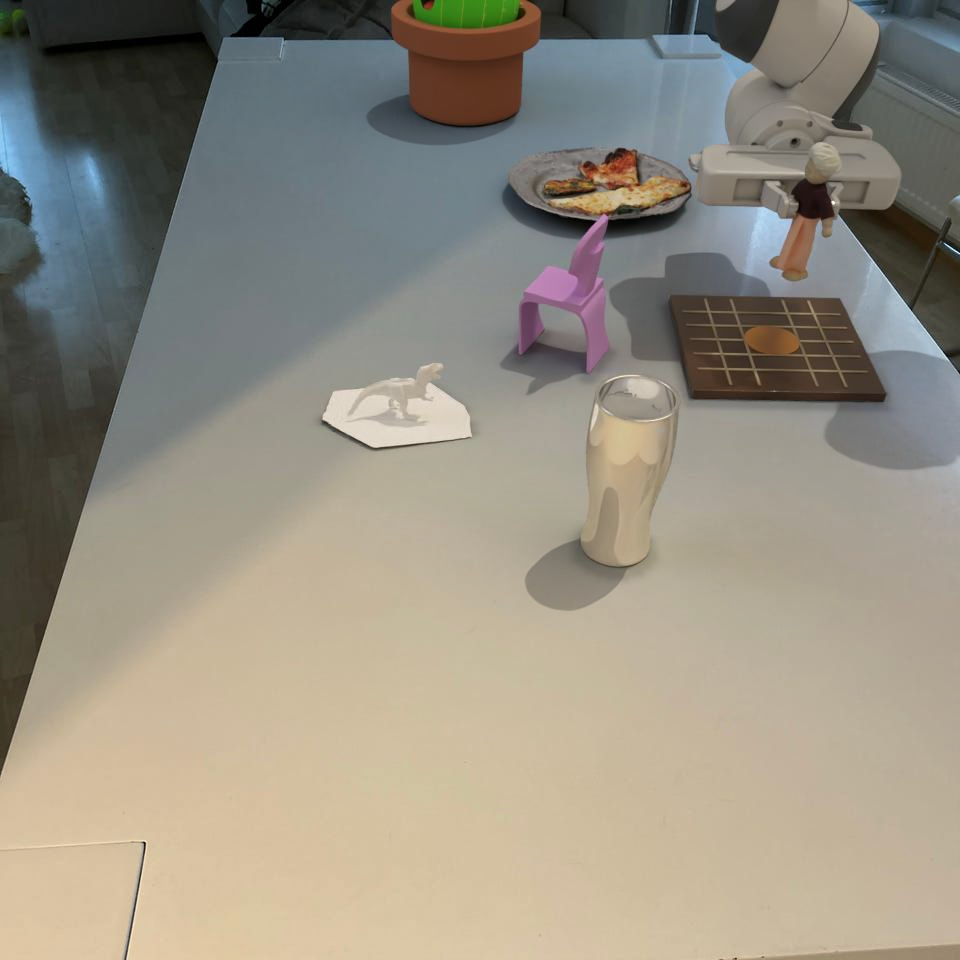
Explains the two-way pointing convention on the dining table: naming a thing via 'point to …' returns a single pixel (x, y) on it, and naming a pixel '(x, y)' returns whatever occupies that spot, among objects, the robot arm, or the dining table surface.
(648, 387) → the beer glass
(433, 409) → the dinosaur figurine
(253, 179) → the dining table surface
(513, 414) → the dining table surface
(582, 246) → the toy chair
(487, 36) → the potted cactus
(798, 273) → the grandmother figurine
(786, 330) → the game board
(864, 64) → the robot arm
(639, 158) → the food plate
